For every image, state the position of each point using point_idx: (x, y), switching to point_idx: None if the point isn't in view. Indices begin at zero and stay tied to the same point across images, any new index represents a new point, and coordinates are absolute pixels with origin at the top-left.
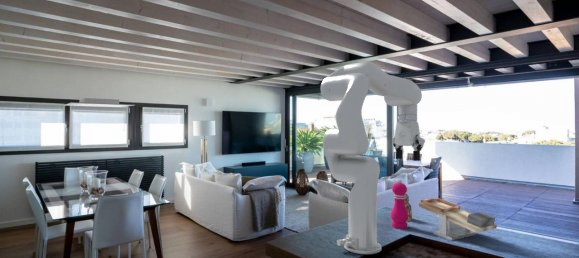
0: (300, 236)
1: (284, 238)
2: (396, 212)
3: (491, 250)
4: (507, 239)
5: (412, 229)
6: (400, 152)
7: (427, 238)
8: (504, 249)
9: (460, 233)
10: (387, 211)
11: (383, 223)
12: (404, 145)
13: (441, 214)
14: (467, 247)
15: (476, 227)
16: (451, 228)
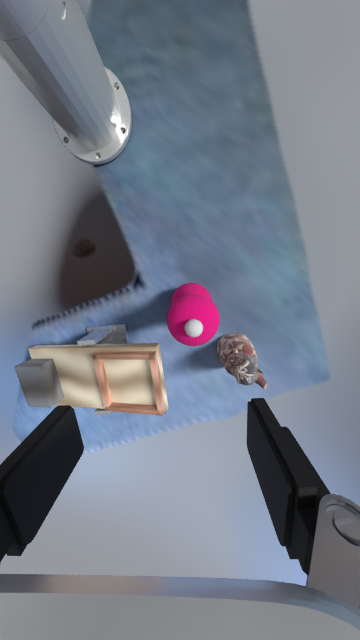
0: None
1: None
2: (182, 288)
3: (36, 344)
4: (72, 407)
5: (165, 311)
6: (269, 490)
7: (110, 296)
8: None
9: None
10: (302, 359)
11: (224, 283)
12: (54, 580)
13: (89, 341)
14: (54, 322)
15: (33, 354)
16: None
